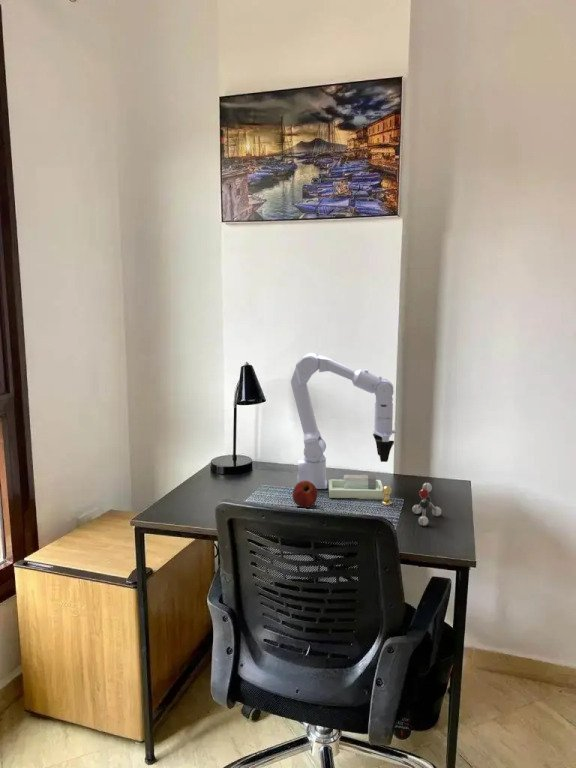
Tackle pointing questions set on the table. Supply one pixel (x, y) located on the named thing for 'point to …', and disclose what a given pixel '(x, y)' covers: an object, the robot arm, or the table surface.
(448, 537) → the table surface
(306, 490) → the apple
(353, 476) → the strut
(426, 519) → the molecular model
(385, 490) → the door knob
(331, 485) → the tray
